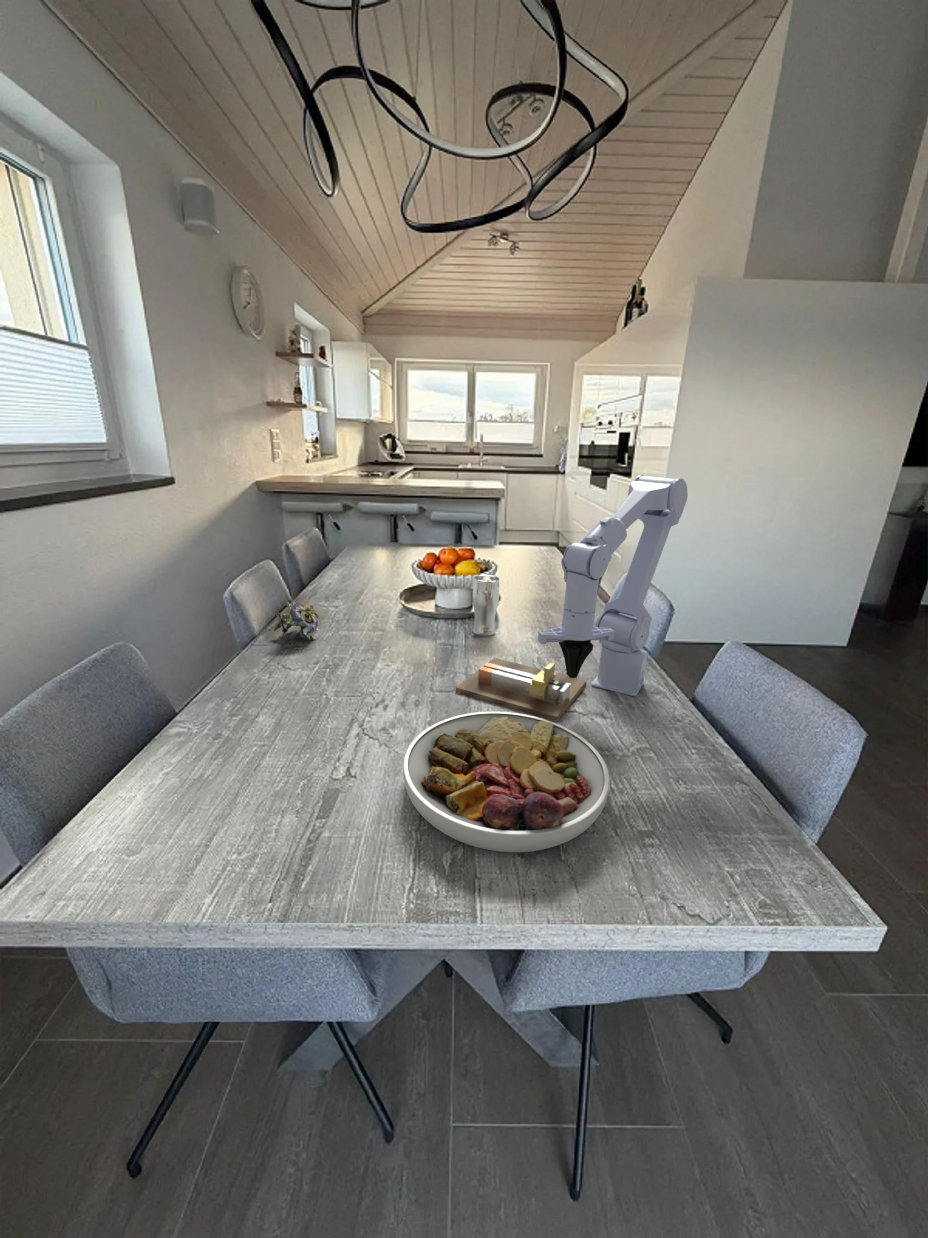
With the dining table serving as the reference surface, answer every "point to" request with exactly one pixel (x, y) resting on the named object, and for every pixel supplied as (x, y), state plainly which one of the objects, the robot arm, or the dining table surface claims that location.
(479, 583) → the beer glass
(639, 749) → the dining table surface
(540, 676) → the brass ring
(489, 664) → the hinged tong arm
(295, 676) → the dining table surface
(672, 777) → the dining table surface
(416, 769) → the bowl
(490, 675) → the fixed tong arm
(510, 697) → the walnut board
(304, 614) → the passion flower
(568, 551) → the robot arm
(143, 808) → the dining table surface
